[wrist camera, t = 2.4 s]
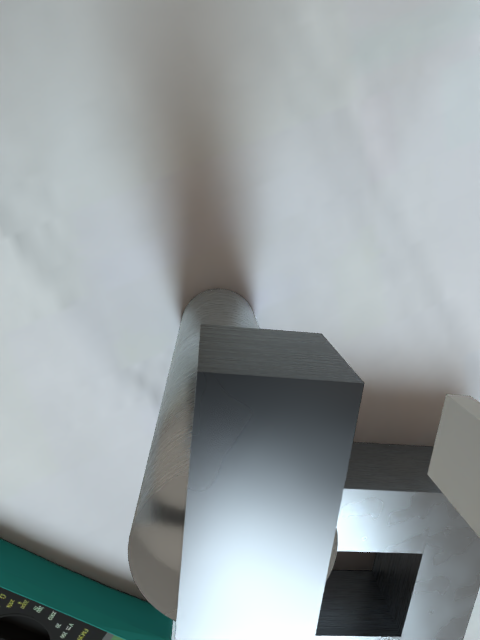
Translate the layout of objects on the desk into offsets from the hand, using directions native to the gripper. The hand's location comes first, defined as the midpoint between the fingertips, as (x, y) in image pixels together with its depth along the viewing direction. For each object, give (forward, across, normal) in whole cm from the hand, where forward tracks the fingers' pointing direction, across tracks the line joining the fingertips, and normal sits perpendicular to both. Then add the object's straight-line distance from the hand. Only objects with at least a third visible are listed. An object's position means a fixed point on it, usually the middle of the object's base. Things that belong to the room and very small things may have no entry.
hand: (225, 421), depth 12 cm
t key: (+9, 0, 0) cm, 9 cm away
